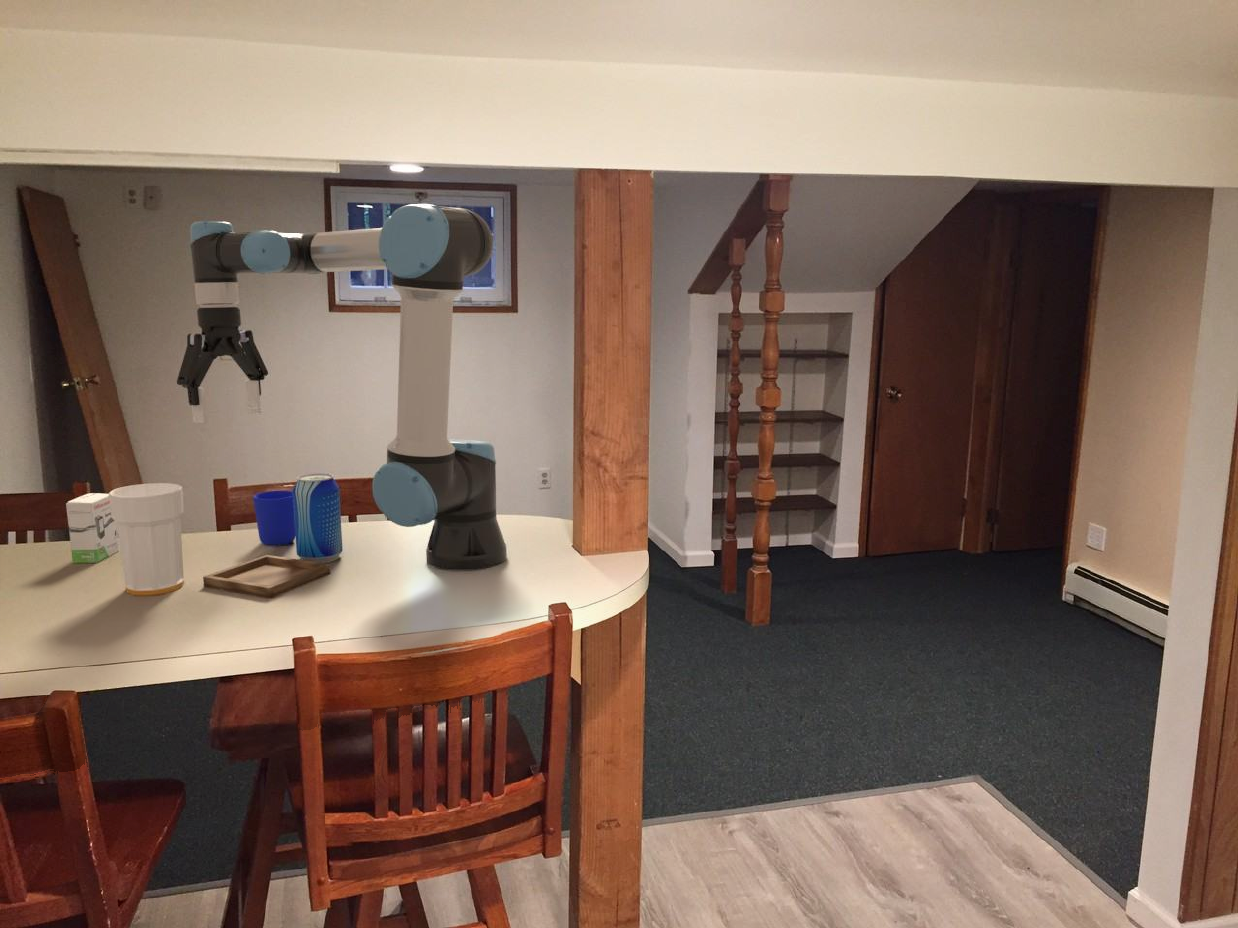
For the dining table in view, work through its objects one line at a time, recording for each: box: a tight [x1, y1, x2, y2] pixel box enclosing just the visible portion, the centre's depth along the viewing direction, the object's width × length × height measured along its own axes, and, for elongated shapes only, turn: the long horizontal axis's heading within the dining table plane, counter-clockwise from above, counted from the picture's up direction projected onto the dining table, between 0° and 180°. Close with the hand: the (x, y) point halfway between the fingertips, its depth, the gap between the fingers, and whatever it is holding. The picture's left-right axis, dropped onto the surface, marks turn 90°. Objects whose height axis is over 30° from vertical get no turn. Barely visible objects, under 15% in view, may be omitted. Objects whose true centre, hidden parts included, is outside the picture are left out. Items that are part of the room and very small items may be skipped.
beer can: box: [292, 472, 343, 564], centre depth 185 cm, size 8×8×16 cm
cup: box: [108, 482, 185, 597], centre depth 168 cm, size 11×11×17 cm
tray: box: [202, 554, 331, 599], centre depth 173 cm, size 15×15×2 cm
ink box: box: [65, 492, 120, 564], centre depth 187 cm, size 9×5×12 cm, turn 0°
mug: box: [252, 490, 296, 547], centre depth 199 cm, size 8×12×10 cm
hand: (228, 418), depth 188 cm, fingers open, 13 cm apart
